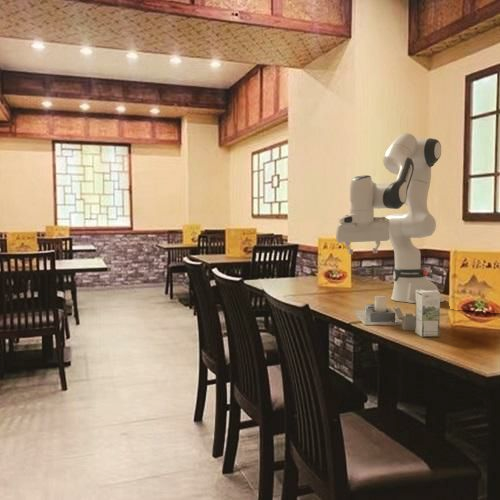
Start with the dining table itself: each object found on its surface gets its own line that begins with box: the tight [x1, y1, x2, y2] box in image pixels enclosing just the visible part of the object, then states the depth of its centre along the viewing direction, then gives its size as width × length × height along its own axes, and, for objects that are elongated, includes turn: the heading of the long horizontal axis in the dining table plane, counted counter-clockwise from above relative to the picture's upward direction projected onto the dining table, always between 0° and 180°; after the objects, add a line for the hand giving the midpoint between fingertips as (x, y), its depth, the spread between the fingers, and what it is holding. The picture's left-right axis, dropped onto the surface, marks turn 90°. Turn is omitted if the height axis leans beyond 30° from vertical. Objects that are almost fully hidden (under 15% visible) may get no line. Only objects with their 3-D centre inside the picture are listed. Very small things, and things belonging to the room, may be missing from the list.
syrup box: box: [414, 289, 441, 338], centre depth 156 cm, size 6×6×14 cm
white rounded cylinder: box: [374, 295, 387, 312], centre depth 177 cm, size 4×4×8 cm
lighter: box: [393, 305, 415, 331], centre depth 164 cm, size 7×2×8 cm, turn 94°
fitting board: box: [354, 303, 402, 326], centre depth 182 cm, size 13×22×4 cm, turn 177°
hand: (362, 253), depth 191 cm, fingers open, 8 cm apart
